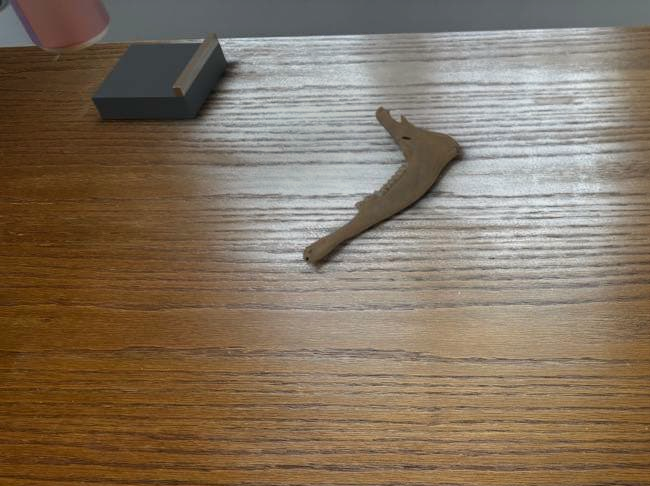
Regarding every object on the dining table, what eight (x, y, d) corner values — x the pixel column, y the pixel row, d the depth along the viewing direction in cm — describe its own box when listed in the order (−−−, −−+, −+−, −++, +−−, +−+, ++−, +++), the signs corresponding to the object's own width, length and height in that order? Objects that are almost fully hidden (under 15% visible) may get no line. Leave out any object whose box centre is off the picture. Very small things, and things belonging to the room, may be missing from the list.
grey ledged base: (102, 119, 86) (85, 88, 83) (141, 65, 92) (126, 34, 89) (194, 118, 84) (179, 86, 81) (228, 64, 90) (215, 32, 87)
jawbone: (472, 132, 79) (470, 114, 78) (407, 286, 68) (404, 268, 66) (380, 121, 81) (377, 102, 79) (301, 270, 69) (295, 252, 67)
